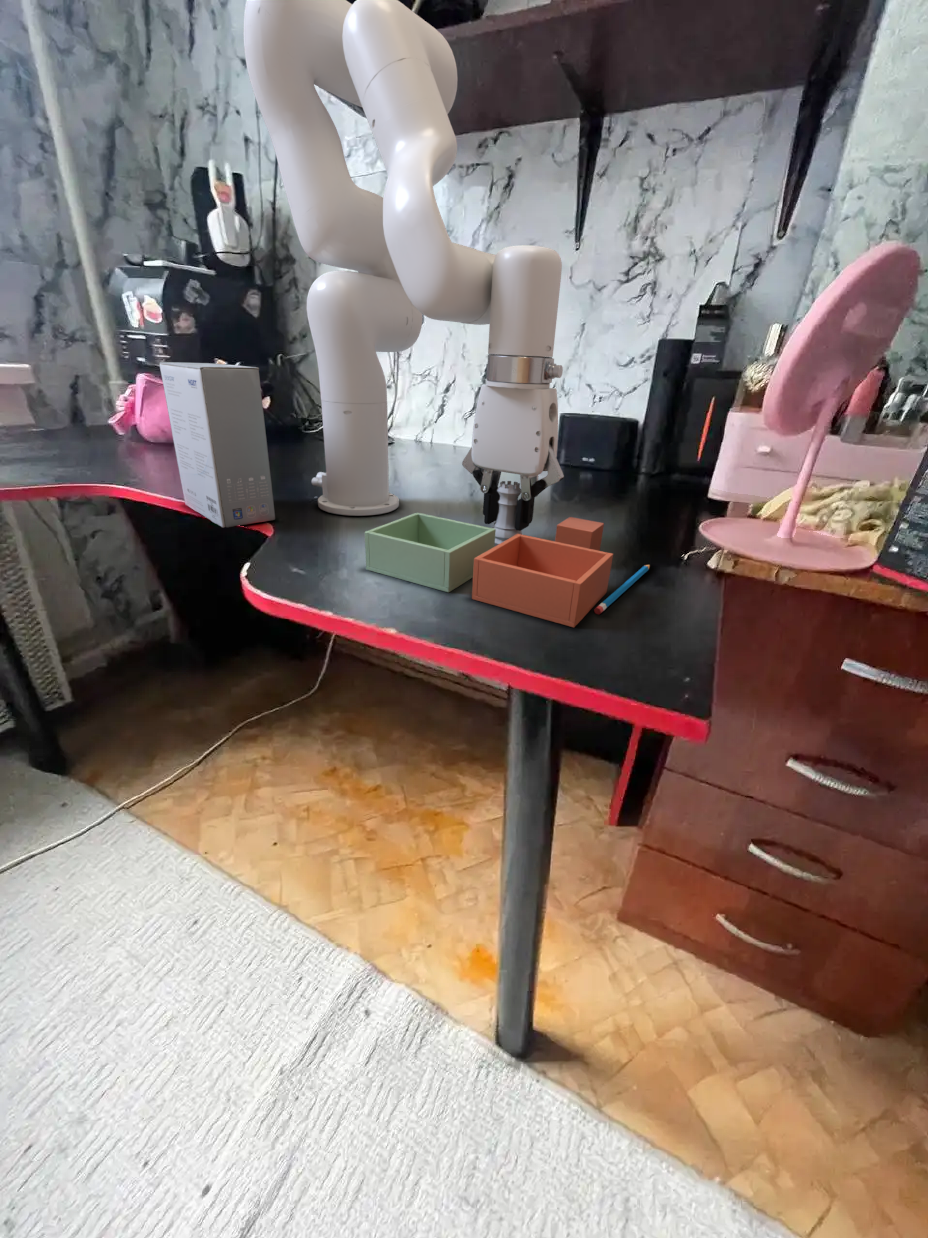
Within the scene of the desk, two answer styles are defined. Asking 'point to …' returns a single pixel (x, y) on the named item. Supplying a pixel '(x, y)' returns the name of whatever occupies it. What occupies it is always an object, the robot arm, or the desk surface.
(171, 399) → the hard drive box
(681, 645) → the desk surface
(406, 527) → the sage bin
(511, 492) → the rook chess piece
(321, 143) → the robot arm
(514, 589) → the terracotta bin
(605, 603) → the pencil
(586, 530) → the terracotta block
